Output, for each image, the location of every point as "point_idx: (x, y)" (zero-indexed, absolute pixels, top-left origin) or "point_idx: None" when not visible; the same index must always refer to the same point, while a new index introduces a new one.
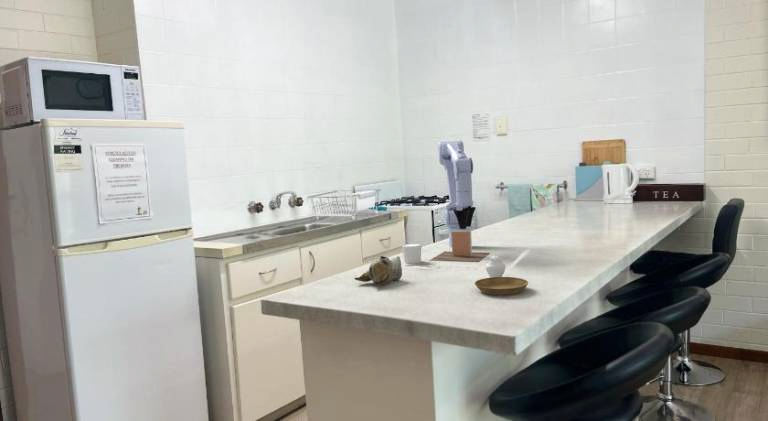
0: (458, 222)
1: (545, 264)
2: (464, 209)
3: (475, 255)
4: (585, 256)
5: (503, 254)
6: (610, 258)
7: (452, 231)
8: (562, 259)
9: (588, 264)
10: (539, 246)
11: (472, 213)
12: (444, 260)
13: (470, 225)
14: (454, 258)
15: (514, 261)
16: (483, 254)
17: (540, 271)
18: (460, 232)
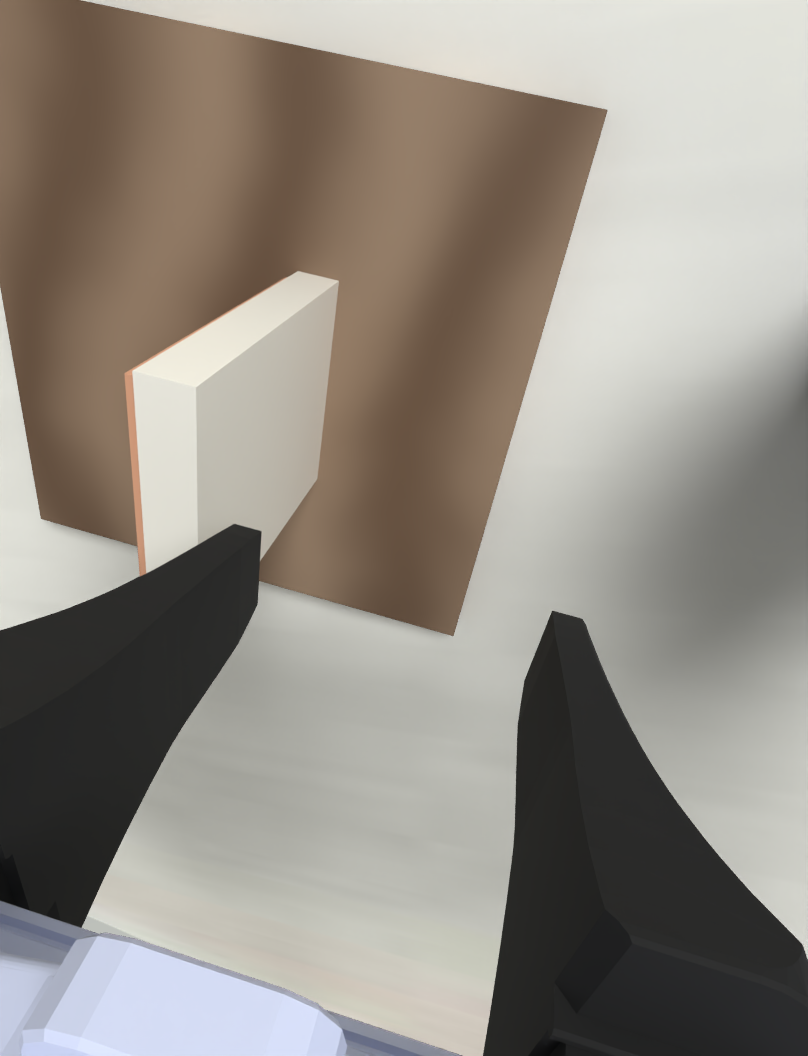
0: (144, 575)
1: (176, 816)
2: (551, 968)
3: (312, 507)
4: (397, 978)
5: (493, 700)
6: (350, 1014)
7: (137, 385)
8: (315, 898)
9: (210, 929)
10: (802, 937)
11: (502, 948)
12: (13, 202)
13: (522, 699)
14: (137, 308)
15: (231, 716)
16: (365, 573)
17: None
18: (139, 505)
